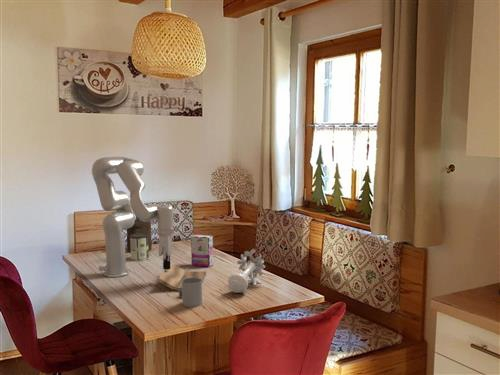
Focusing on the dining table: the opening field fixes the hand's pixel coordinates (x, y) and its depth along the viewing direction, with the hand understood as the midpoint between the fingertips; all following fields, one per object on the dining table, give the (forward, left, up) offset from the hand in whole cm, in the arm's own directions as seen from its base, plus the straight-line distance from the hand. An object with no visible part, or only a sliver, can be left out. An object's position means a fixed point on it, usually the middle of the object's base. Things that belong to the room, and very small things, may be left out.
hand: (166, 268), depth 251 cm
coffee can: (-25, +46, -7) cm, 53 cm away
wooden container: (-31, +68, -7) cm, 75 cm away
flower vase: (+39, -8, -7) cm, 40 cm away
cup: (+17, -31, -7) cm, 36 cm away
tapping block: (+14, -20, -7) cm, 25 cm away
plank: (+2, 0, -4) cm, 5 cm away
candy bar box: (+13, +32, -7) cm, 35 cm away
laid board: (+12, 0, -7) cm, 14 cm away
